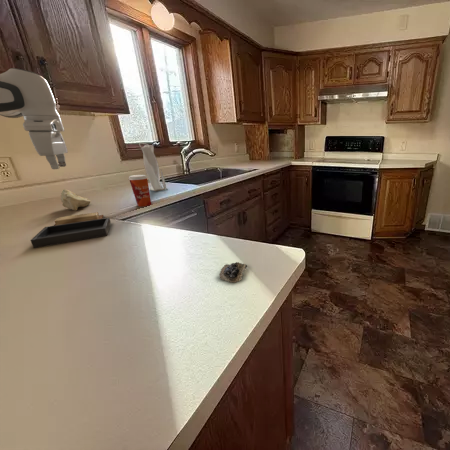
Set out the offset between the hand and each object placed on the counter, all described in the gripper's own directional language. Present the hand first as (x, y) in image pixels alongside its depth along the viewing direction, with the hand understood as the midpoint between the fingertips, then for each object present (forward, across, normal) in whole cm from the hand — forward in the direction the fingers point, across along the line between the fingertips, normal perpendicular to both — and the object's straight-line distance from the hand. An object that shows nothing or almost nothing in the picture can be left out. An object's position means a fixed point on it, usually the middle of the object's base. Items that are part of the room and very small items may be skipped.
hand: (59, 167), depth 87 cm
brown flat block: (+21, 0, 0) cm, 21 cm away
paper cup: (+21, -16, +22) cm, 34 cm away
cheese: (+21, -26, -4) cm, 34 cm away
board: (+20, 0, 0) cm, 20 cm away
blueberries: (+21, +70, +39) cm, 83 cm away
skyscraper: (+21, -54, +29) cm, 65 cm away
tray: (+21, +16, +2) cm, 26 cm away
